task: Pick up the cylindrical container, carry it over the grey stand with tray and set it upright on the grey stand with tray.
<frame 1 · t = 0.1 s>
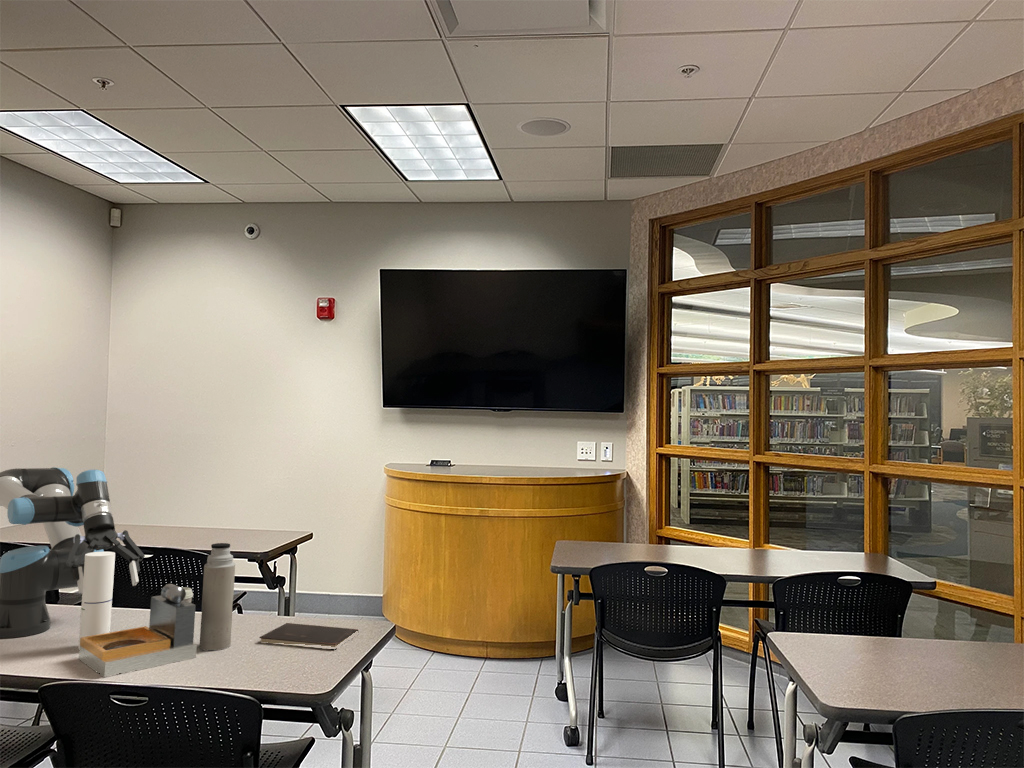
hand: (109, 587, 196), 15 cm above the table, tool tilted 35°, fingers open, 13 cm apart
coffee cup: (175, 632, 208), on the table
thermos bottle: (215, 647, 196), on the table
hardcover book: (310, 641, 205), on the table
cylindrical container: (93, 648, 191), on the table
grey stand with tray: (138, 658, 184), on the table
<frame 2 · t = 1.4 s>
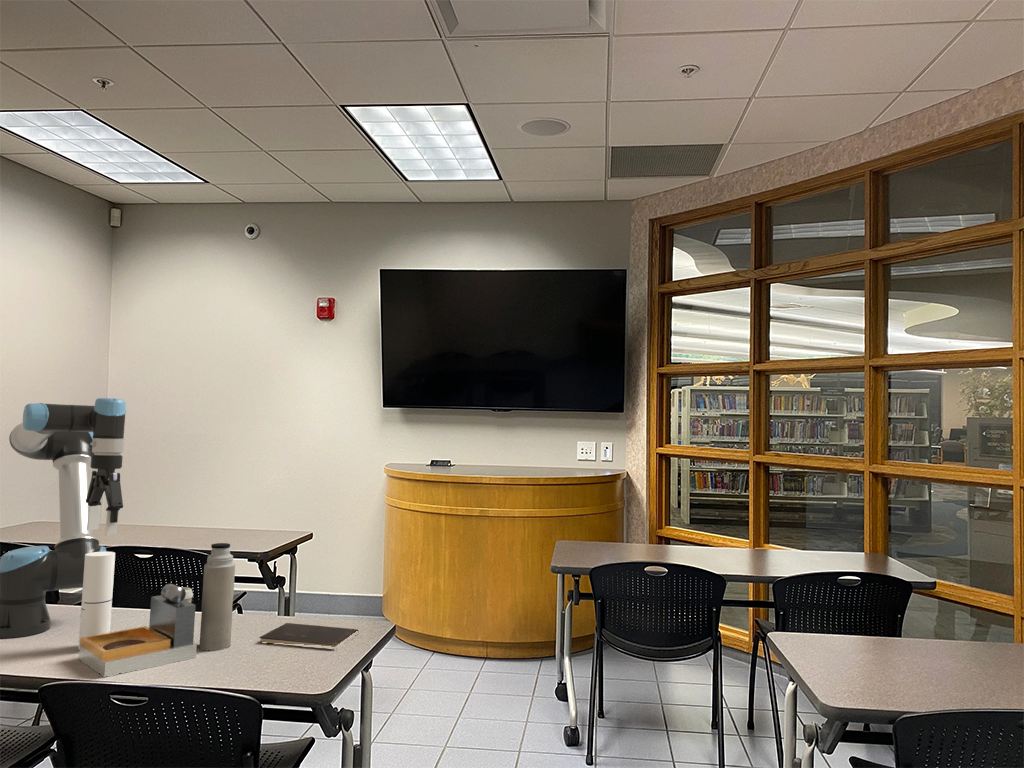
hand: (101, 532, 194), 31 cm above the table, tool pointing down, fingers open, 13 cm apart
nothing on the table moved.
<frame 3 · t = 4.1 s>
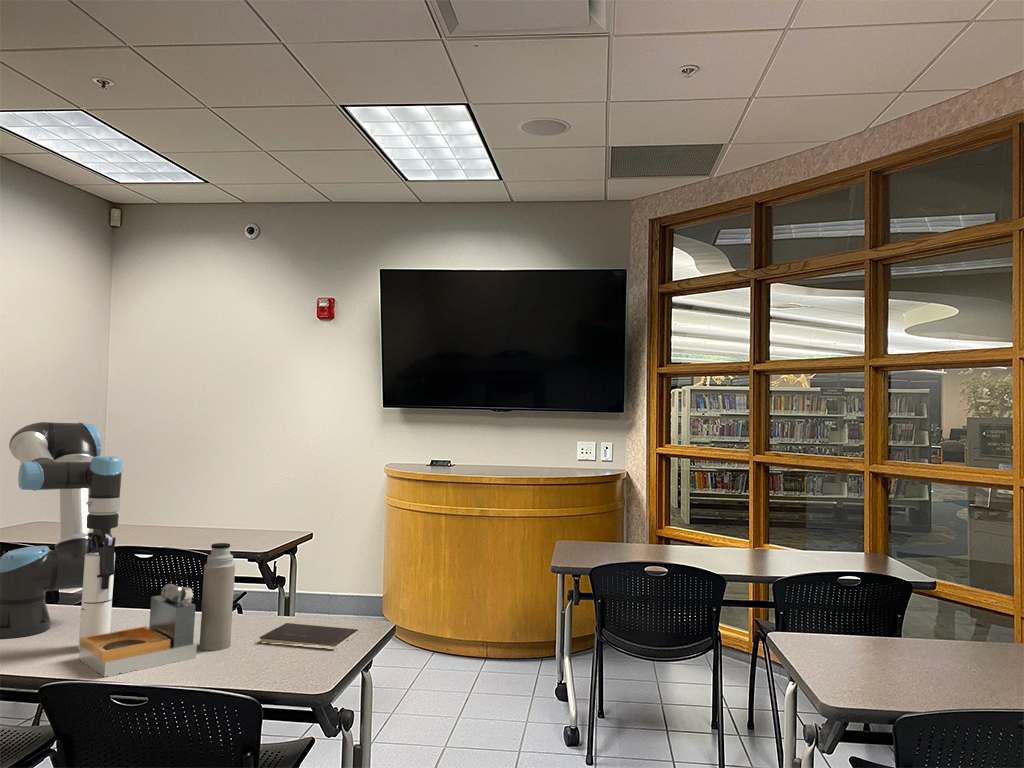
hand: (97, 598, 192), 13 cm above the table, tool pointing down, fingers closed on cylindrical container, 7 cm apart
cylindrical container: (93, 648, 191), on the table, touching gripper
everything else where it was.
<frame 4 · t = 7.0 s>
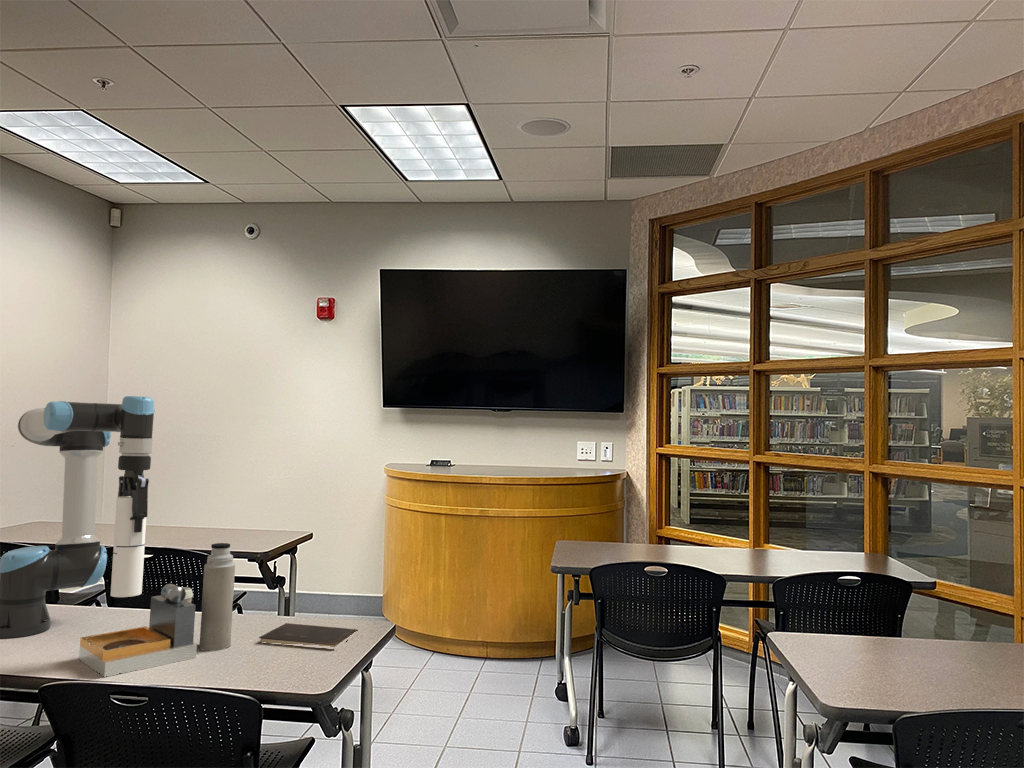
hand: (129, 543, 185), 30 cm above the table, tool pointing down, fingers closed on cylindrical container, 7 cm apart
cylindrical container: (126, 594, 184), point 16 cm above the table, touching gripper
everything else where it was.
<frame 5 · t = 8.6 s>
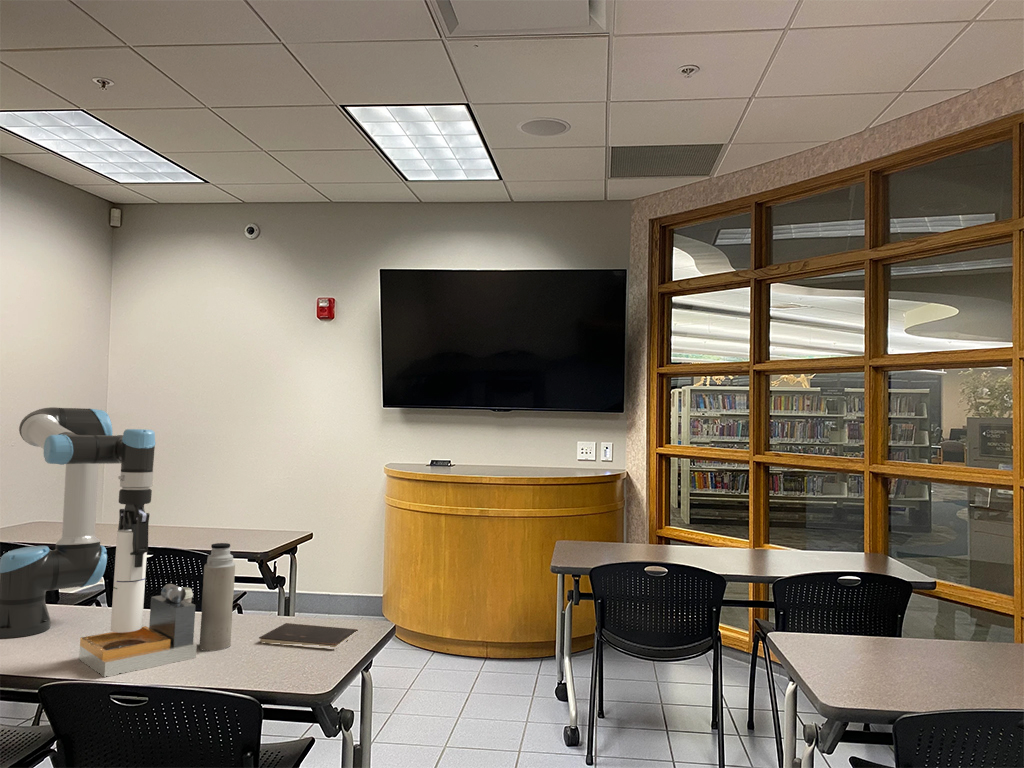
hand: (129, 577, 183), 21 cm above the table, tool pointing down, fingers closed on cylindrical container, 7 cm apart
cylindrical container: (126, 629, 183), point 8 cm above the table, touching gripper
everything else where it was.
when the fingers open (18 cm above the table, at t = 10.0 s): cylindrical container drops 1 cm, resting on grey stand with tray.
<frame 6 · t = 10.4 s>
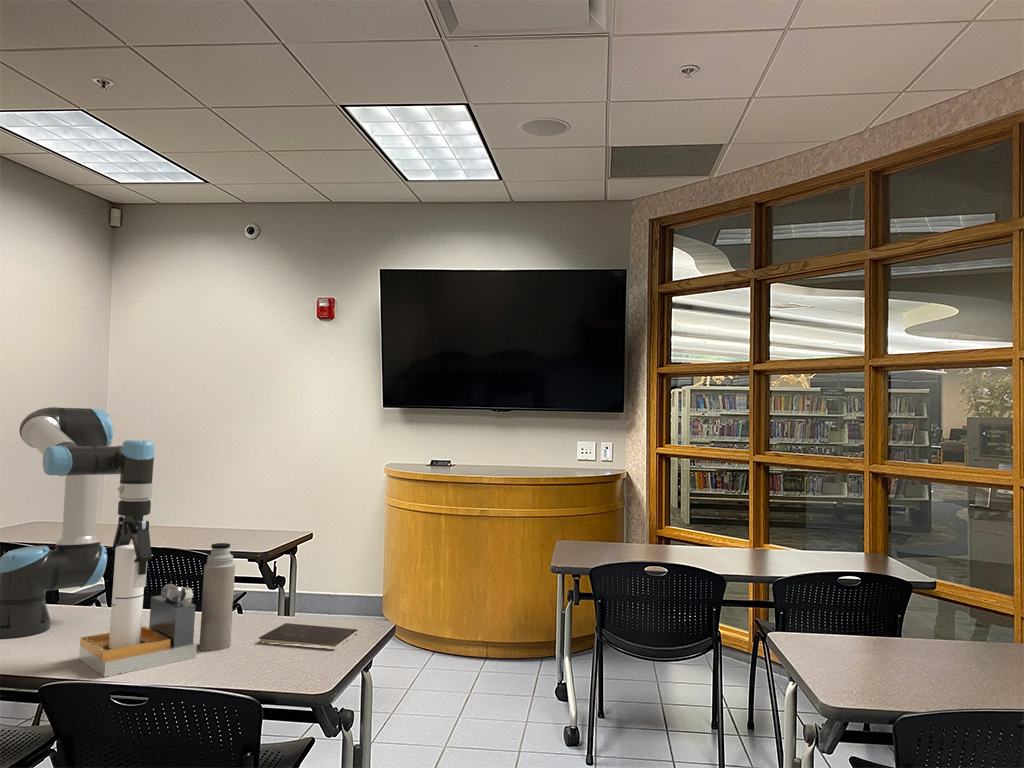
hand: (129, 583, 183), 20 cm above the table, tool pointing down, fingers open, 12 cm apart
cylindrical container: (124, 645, 183), point 4 cm above the table, touching grey stand with tray
everything else where it was.
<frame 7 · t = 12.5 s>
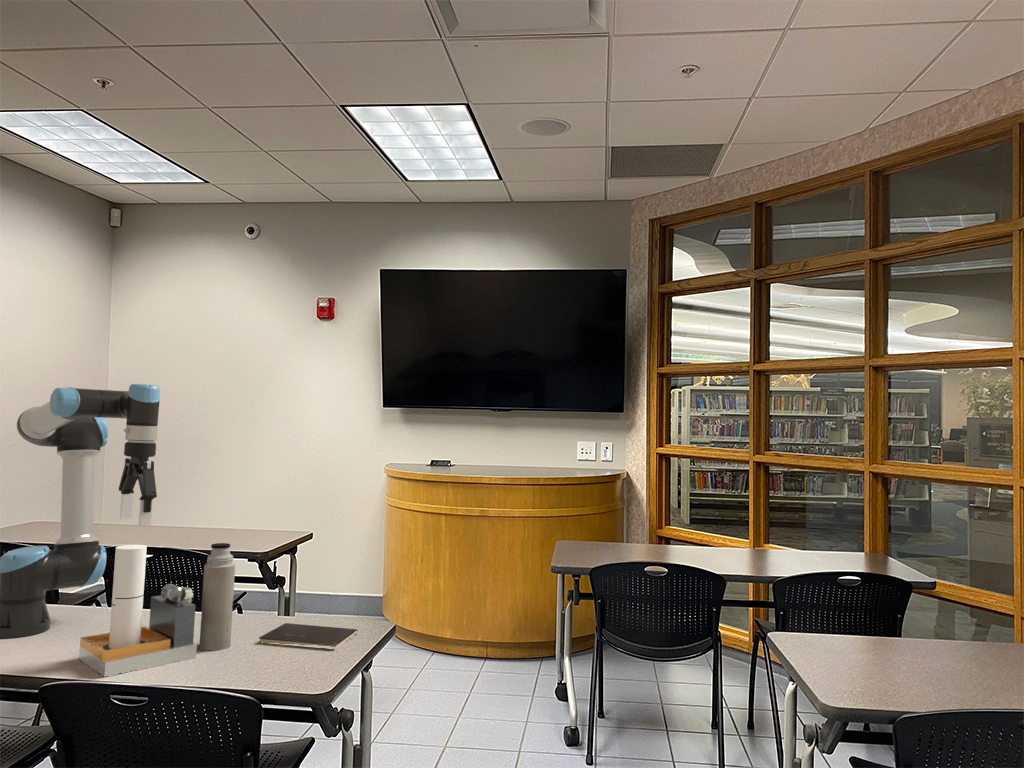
hand: (134, 521, 189), 35 cm above the table, tool pointing down, fingers open, 13 cm apart
nothing on the table moved.
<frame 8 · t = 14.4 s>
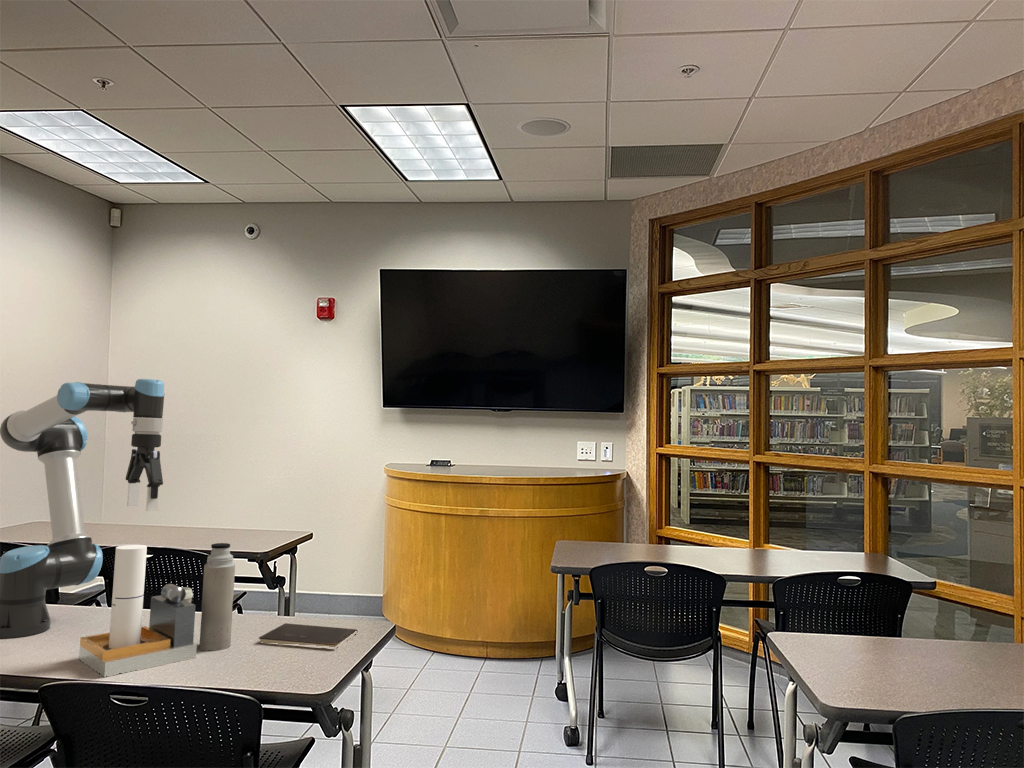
hand: (141, 508, 201), 37 cm above the table, tool pointing down, fingers open, 13 cm apart
nothing on the table moved.
at the end: cylindrical container inside the target area (0.3 cm from its centre), point 3.5 cm above the table; cylindrical container tilted 0°; the gripper is holding nothing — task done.
